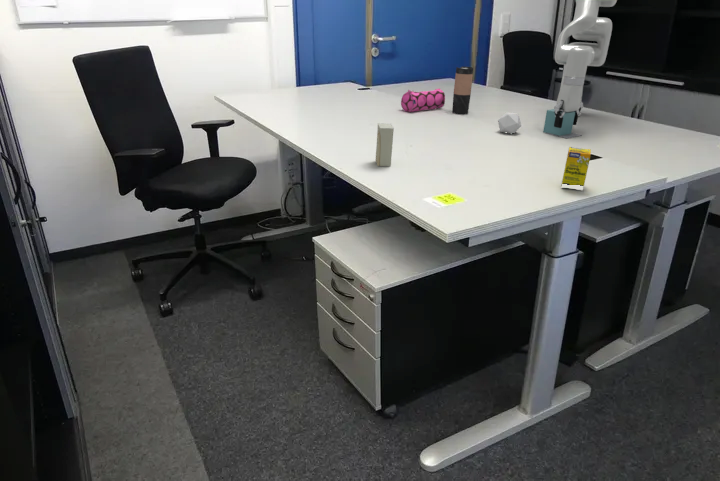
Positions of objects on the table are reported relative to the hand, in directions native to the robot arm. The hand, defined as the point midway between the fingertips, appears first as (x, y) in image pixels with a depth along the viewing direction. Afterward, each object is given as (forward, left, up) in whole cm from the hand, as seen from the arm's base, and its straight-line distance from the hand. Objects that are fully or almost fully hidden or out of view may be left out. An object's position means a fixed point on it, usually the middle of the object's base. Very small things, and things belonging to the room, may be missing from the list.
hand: (565, 125), depth 215 cm
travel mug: (+7, -50, -4) cm, 51 cm away
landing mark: (0, 0, -3) cm, 3 cm away
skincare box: (+88, -5, -4) cm, 88 cm away
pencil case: (+18, -63, -4) cm, 66 cm away
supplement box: (+55, +41, -4) cm, 69 cm away
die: (+18, -13, -4) cm, 23 cm away
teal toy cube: (0, -3, -3) cm, 4 cm away
